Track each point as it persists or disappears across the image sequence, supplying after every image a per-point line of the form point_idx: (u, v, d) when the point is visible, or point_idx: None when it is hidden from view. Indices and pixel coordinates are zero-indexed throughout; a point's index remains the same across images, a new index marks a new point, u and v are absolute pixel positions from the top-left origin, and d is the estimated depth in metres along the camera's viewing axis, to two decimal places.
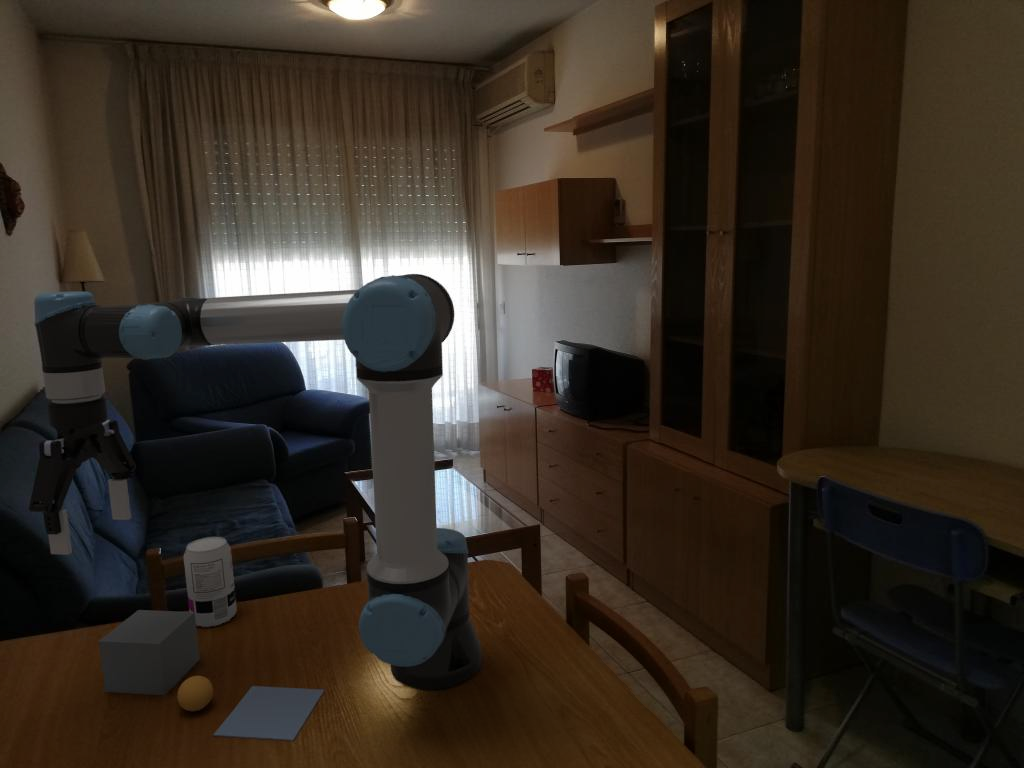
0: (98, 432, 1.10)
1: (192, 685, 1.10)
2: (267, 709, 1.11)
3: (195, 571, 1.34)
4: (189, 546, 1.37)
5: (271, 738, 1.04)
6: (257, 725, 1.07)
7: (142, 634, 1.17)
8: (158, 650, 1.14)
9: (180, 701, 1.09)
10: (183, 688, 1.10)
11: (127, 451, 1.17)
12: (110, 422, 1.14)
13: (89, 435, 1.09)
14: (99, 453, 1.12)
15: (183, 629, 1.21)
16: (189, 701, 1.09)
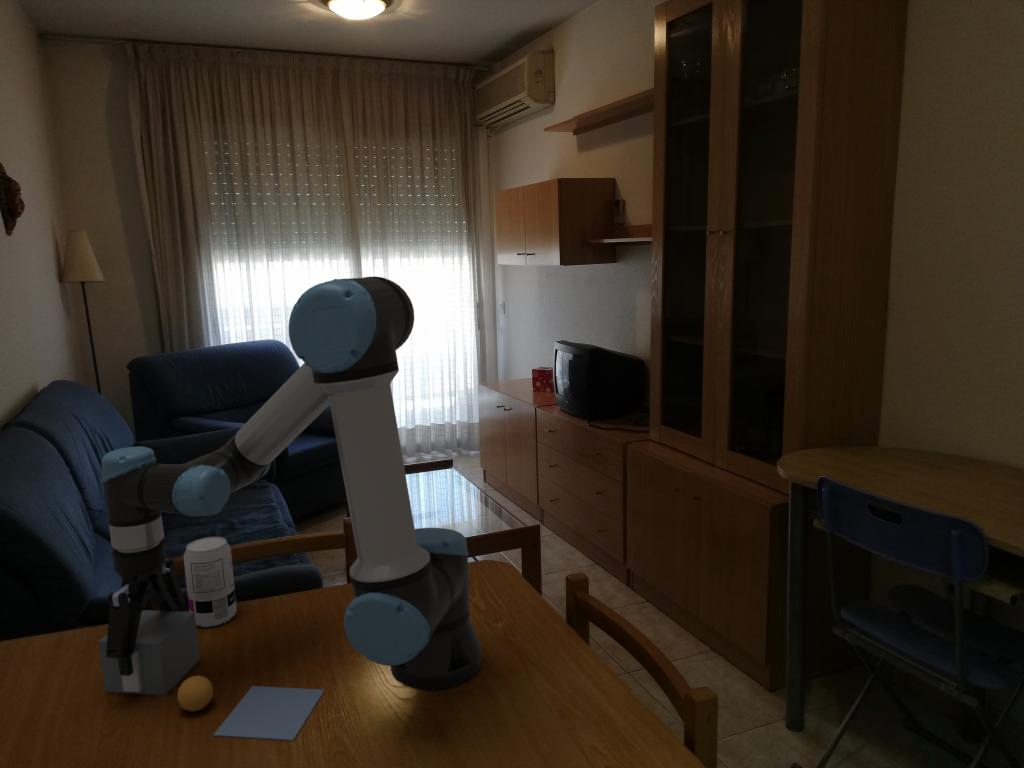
0: (157, 571, 1.20)
1: (192, 685, 1.10)
2: (267, 709, 1.11)
3: (195, 571, 1.34)
4: (189, 546, 1.37)
5: (271, 738, 1.04)
6: (257, 725, 1.07)
7: (142, 634, 1.17)
8: (158, 650, 1.14)
9: (180, 701, 1.09)
10: (183, 688, 1.10)
11: (179, 588, 1.26)
12: (167, 561, 1.24)
13: (149, 574, 1.18)
14: (156, 592, 1.21)
15: (183, 629, 1.21)
16: (189, 701, 1.09)
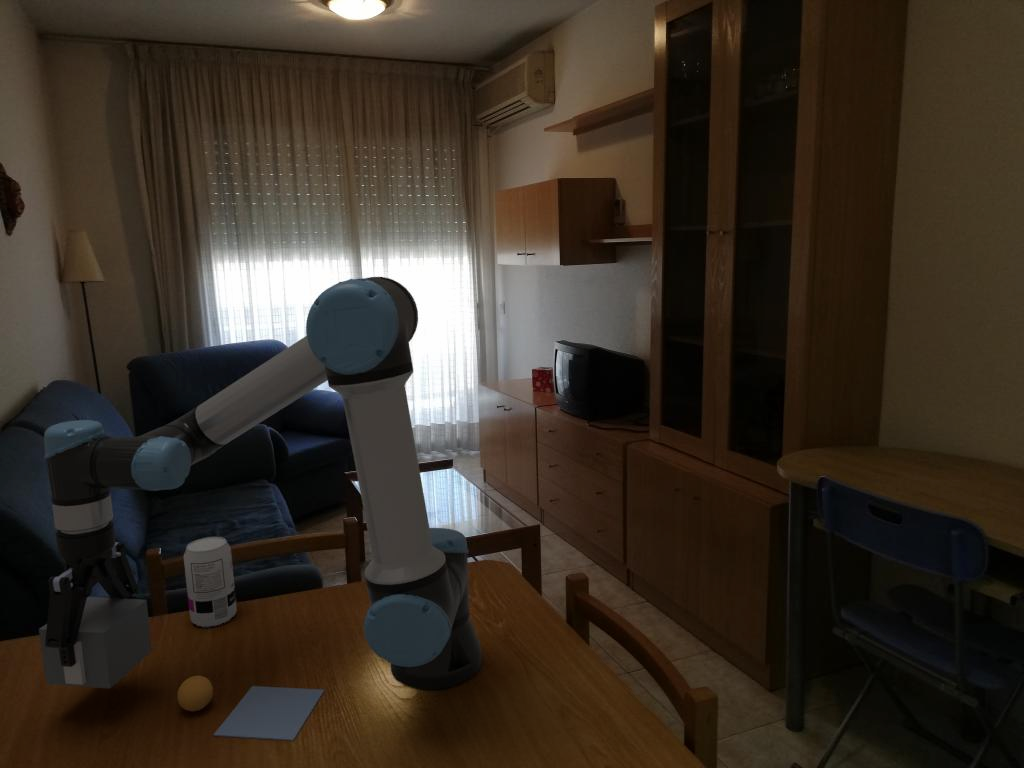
0: (105, 554, 1.12)
1: (192, 685, 1.10)
2: (267, 709, 1.11)
3: (195, 571, 1.34)
4: (189, 546, 1.37)
5: (271, 738, 1.04)
6: (257, 725, 1.07)
7: (87, 622, 1.09)
8: (103, 639, 1.06)
9: (180, 701, 1.09)
10: (183, 688, 1.10)
11: (131, 574, 1.18)
12: (118, 544, 1.15)
13: (96, 557, 1.10)
14: (104, 577, 1.13)
15: (133, 617, 1.12)
16: (189, 701, 1.09)
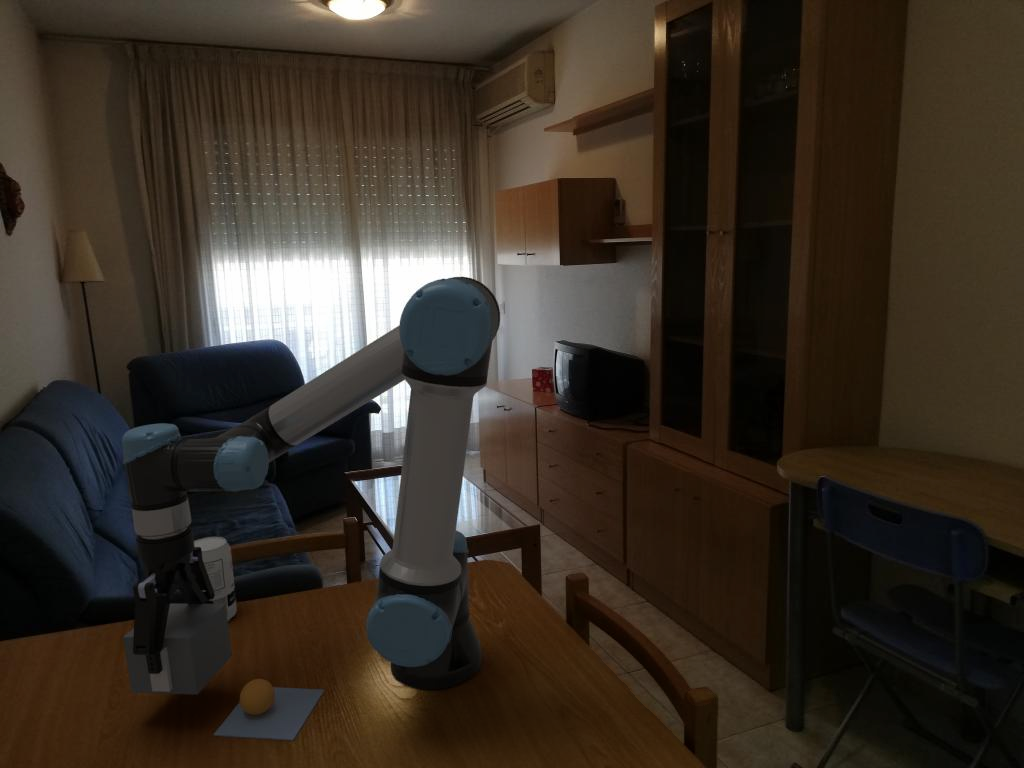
0: (184, 559, 1.10)
1: None
2: None
3: None
4: None
5: (271, 738, 1.04)
6: (257, 725, 1.07)
7: (170, 628, 1.07)
8: (188, 645, 1.04)
9: (255, 710, 1.08)
10: None
11: (208, 579, 1.16)
12: (195, 549, 1.14)
13: (177, 562, 1.08)
14: (184, 583, 1.11)
15: (214, 622, 1.11)
16: (246, 705, 1.08)
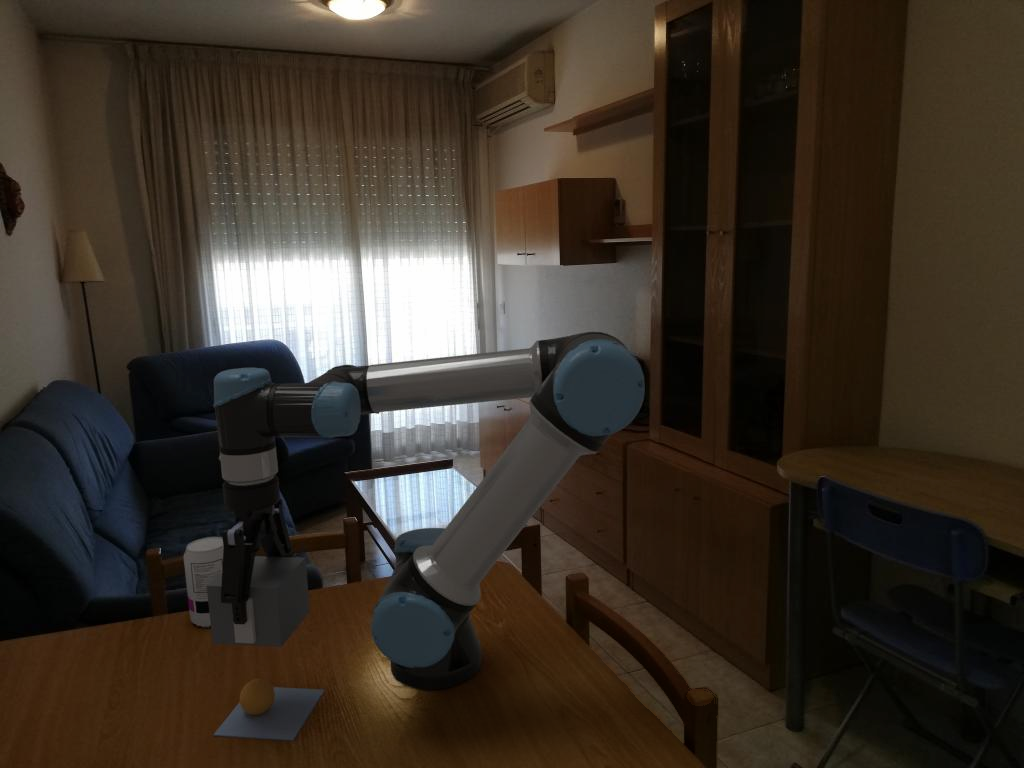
0: (268, 510, 1.07)
1: None
2: None
3: (195, 571, 1.34)
4: (189, 546, 1.37)
5: (271, 738, 1.04)
6: (257, 725, 1.07)
7: (254, 579, 1.04)
8: (275, 595, 1.01)
9: (255, 710, 1.08)
10: None
11: (286, 532, 1.13)
12: None
13: (262, 512, 1.05)
14: None
15: (296, 574, 1.08)
16: (246, 705, 1.08)
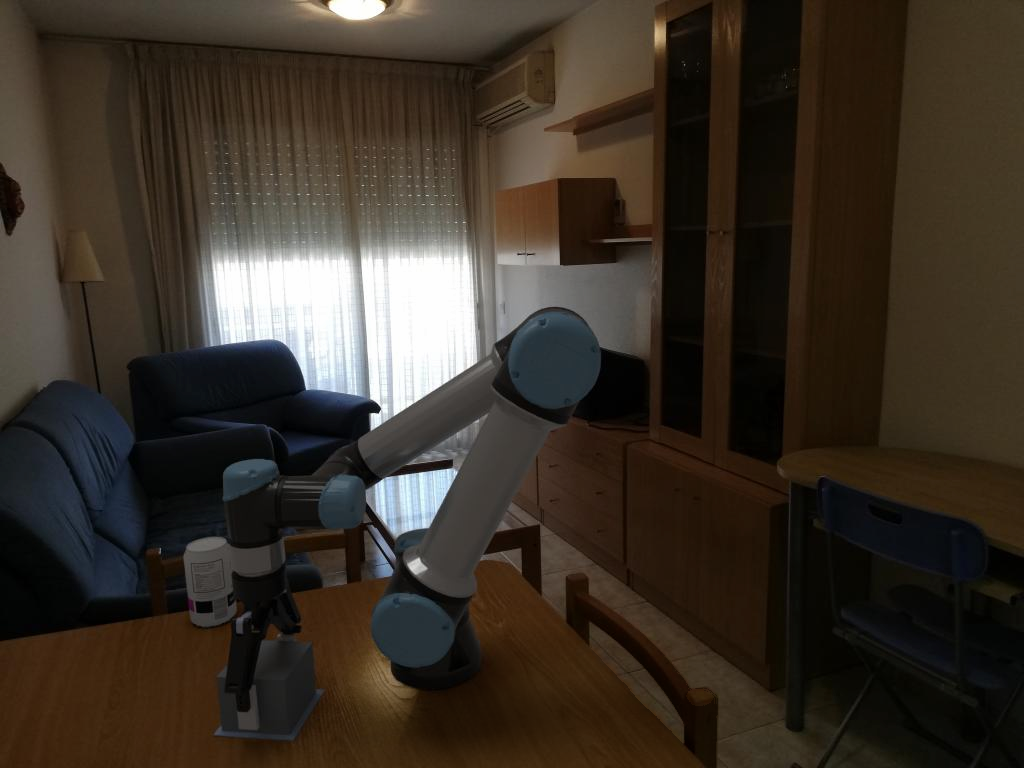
0: (275, 596, 1.09)
1: None
2: None
3: (195, 571, 1.34)
4: (189, 546, 1.37)
5: (271, 738, 1.04)
6: None
7: (262, 668, 1.06)
8: (283, 687, 1.04)
9: None
10: None
11: (295, 606, 1.16)
12: None
13: (269, 602, 1.07)
14: None
15: (303, 661, 1.10)
16: None
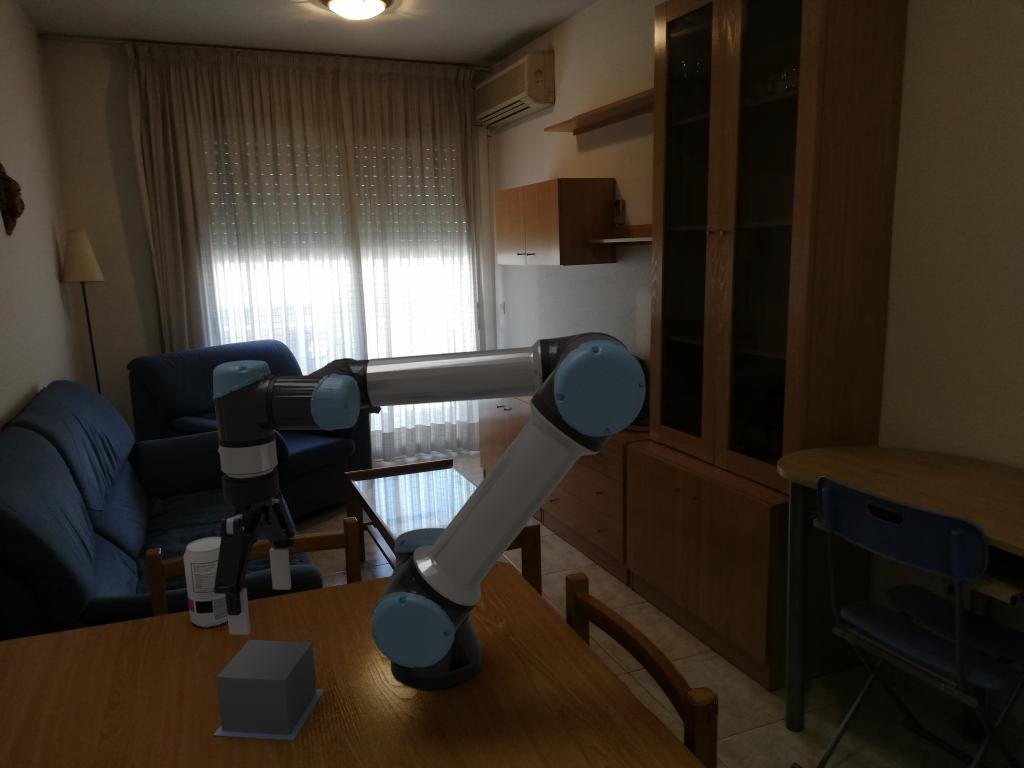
0: (267, 503, 1.07)
1: None
2: None
3: (195, 571, 1.34)
4: (189, 546, 1.37)
5: (271, 738, 1.04)
6: None
7: (262, 668, 1.06)
8: (283, 687, 1.04)
9: None
10: None
11: (288, 519, 1.14)
12: None
13: (261, 508, 1.05)
14: (267, 524, 1.08)
15: (303, 661, 1.10)
16: None
